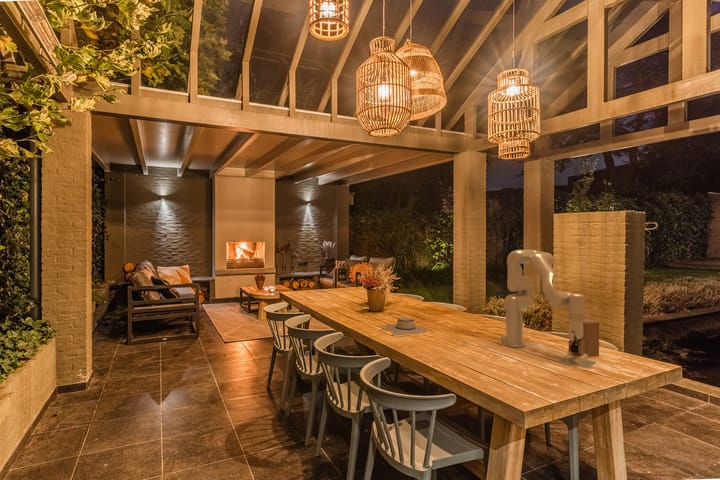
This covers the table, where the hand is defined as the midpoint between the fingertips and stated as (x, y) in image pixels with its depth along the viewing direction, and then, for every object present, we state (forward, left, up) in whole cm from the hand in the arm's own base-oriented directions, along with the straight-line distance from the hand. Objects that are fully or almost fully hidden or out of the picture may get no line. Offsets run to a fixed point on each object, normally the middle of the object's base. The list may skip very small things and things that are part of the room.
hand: (576, 350), depth 210 cm
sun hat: (-112, -5, -8) cm, 113 cm away
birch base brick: (0, 0, -6) cm, 6 cm away
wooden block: (-1, +19, -7) cm, 21 cm away
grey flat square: (0, 0, -7) cm, 7 cm away
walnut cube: (0, 0, -1) cm, 1 cm away
